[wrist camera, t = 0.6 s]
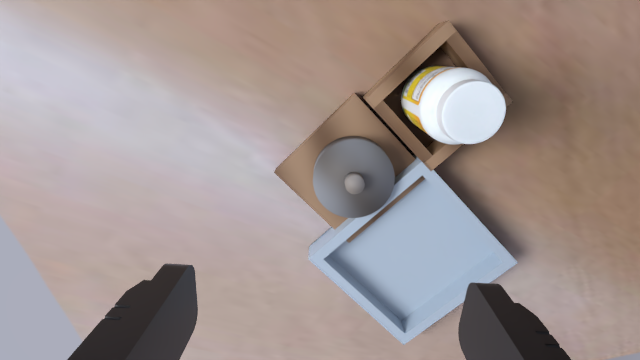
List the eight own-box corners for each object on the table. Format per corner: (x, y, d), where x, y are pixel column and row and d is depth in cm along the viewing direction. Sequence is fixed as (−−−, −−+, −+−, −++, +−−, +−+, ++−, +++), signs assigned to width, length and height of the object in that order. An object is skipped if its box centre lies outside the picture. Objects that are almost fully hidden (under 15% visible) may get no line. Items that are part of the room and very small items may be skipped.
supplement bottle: (398, 69, 31) (430, 73, 21) (461, 62, 30) (520, 62, 21) (401, 131, 32) (431, 158, 23) (460, 124, 32) (515, 149, 23)
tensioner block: (432, 16, 29) (451, 9, 25) (503, 105, 31) (531, 111, 27) (275, 168, 33) (269, 183, 29) (348, 237, 36) (351, 260, 31)
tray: (416, 152, 33) (424, 159, 30) (505, 249, 36) (517, 262, 34) (309, 246, 36) (308, 259, 34) (398, 327, 39) (403, 344, 37)
